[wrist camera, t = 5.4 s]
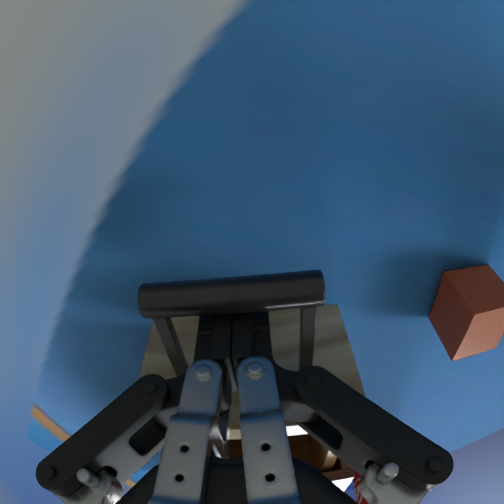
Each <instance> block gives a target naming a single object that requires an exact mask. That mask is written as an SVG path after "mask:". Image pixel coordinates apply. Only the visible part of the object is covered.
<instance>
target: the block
mask: <svg viewBox="0 0 504 504" xmlns="http://www.w3.org/2000/svg"><path fill="white" fill-rule="evenodd" d="M429 319H430V321H431V323H432V325H433V327H434V329H435V330H436V332H437V334H438V336H439V338H440V340H441V342H442V344H443V345H444V347H445V349H446V351H447V353H448V355H449V357H450V359H451V361H455V360H458V359H462V358H465V357H468V356H472V355H475V354H478V353H481V352H484V351H487V350H490V349H493V348H496V347H497V345H498V343H499V342H500V340H501V338H502V336H503V334H504V282H503V281H502V280H501V279H500V278H499V276H498V275H497V274H496V273H495V272H494V271H493V269H492V268H491V267H490V266H489V265H482V266H476V267H469V268H462V269H455V270H448V271H444V272H443V276H442V279H441V282H440V285H439V289H438V292H437V295H436V298H435V301H434V304H433V307H432V310H431V313H430V315H429Z"/></svg>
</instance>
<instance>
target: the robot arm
mask: <svg viewBox="0 0 504 504" xmlns="http://www.w3.org/2000/svg"><path fill="white" fill-rule="evenodd" d="M232 391H238V395H239V406H240V431H241V442H242V452H243V456H240V457H236V458H232V459H229V450H228V441H229V432H230V422H231V412H232V404H231V402H232ZM284 419H287V420H292V421H295V422H296V424H297V425H298V426H300V427H301V428H302V429H303V430H304V431H306V432H307V433H308V434H309V435H310V436H312V437H313V438H314V439H315V440H316V441H318V442H319V443H320V444H321V445H323V446H324V447H325V448H326V449H328V450H329V451H330V452H331V453H333V454H334V455H335V456H337V457H338V458H339V459H340V460H342V461H343V462H344V463H346V464H347V465H348V466H350V467H351V468H352V469H354V470H355V471H356V472H358V473H359V474H360V475H362V477H361V479H360V481H359V491H360V493H361V495H362V496H363V497H364V498H365V499H366V500H367V502H368V504H419V503H420V501H421V500H422V499H423V498H424V496H425V495H426V494H427V493H428V492H429V491H431V490H432V489H434V488H435V487H436V486H438V485H439V484H441V483H442V482H444V481H445V480H446V479H447V478H448V477H449V476H450V474H451V472H452V470H453V459H452V457H451V455H450V453H449V452H448V451H446V450H445V449H443V448H442V447H440V446H439V445H437V444H435V443H434V442H432V441H431V440H429V439H428V438H426V437H424V436H423V435H421V434H420V433H418V432H417V431H415V430H414V429H412V428H411V427H409V426H408V425H406V424H405V423H403V422H401V421H400V420H398V419H397V418H395V417H394V416H392V415H391V414H389V413H388V412H387V411H385V410H384V409H382V408H381V407H379V406H378V405H376V404H375V403H373V402H372V401H370V400H369V399H367V398H366V397H365V396H363V395H362V394H360V393H359V392H357V391H356V390H354V389H353V388H352V387H350V386H349V385H347V384H346V383H345V382H343V381H342V380H340V379H339V378H337V377H336V376H335V375H333V374H332V373H330V372H329V371H328V370H326V369H325V368H323V367H320V366H307V367H305V368H302V369H301V370H300V371H299V372H297V371H291V370H287V369H284V368H282V367H280V366H279V365H277V364H276V362H275V361H274V359H273V355H272V345H271V334H270V323H269V312H268V311H264V312H252V313H238V314H224V315H208V316H199V323H198V330H197V338H196V346H195V353H194V361H193V363H192V364H191V365H190V366H189V367H188V369H187V371H186V372H185V373H184V374H182V375H180V376H178V377H174V378H171V379H167V380H165V379H164V378H163V377H162V376H160V375H157V374H148V375H145V376H143V377H141V378H140V379H139V380H137V381H136V382H135V383H134V384H133V385H132V386H130V387H129V388H128V389H127V390H126V391H124V392H123V393H122V394H121V395H120V396H119V397H117V398H116V399H115V400H114V401H113V402H112V403H110V404H109V405H108V406H107V407H106V408H104V409H103V410H102V411H101V412H100V413H99V414H97V415H96V416H95V417H94V418H93V419H91V420H90V421H89V422H88V423H87V424H85V425H84V426H83V427H82V428H81V429H79V430H78V431H77V432H76V433H75V434H73V435H72V436H71V437H70V438H69V439H67V440H66V441H65V442H64V443H63V444H61V445H60V446H59V447H58V448H56V449H55V450H54V451H53V452H52V453H50V454H49V455H48V456H47V457H46V458H45V459H43V460H42V461H41V462H40V463H39V464H38V466H37V469H36V478H37V481H38V483H39V484H40V485H41V486H42V487H43V488H45V489H47V490H49V491H50V492H52V493H53V494H54V495H56V496H58V497H59V498H60V499H61V500H62V501H63V503H64V504H358V503H357V502H356V501H355V500H353V499H352V498H351V497H350V496H348V495H347V494H346V493H345V492H344V491H342V490H341V489H340V488H339V487H338V486H336V485H335V484H334V483H333V482H332V481H331V480H329V479H328V478H327V477H326V476H325V475H324V474H323V473H321V472H320V471H319V470H318V469H317V468H316V467H314V466H313V465H311V464H310V463H308V462H306V461H304V460H301V459H299V458H295V457H291V452H290V447H289V441H288V436H287V431H286V425H285V420H284ZM162 448H163V450H162V454H161V459H160V464H158V465H156V466H155V467H154V468H152V469H151V470H150V471H149V472H148V473H147V474H146V475H145V476H144V477H143V478H142V479H141V480H139V481H138V482H137V483H136V484H135V485H134V486H133V487H132V488H131V489H130V490H129V491H128V492H127V493H126V494H125V495H124V496H123V497H122V493H123V489H122V484H123V483H124V482H126V481H127V480H128V479H129V478H130V477H131V476H132V475H133V474H135V473H136V472H137V471H138V470H139V469H140V468H141V467H142V466H143V465H145V464H146V463H147V462H148V461H149V460H150V459H151V458H152V457H153V456H154V455H155V454H156V453H158V452H159V451H160V450H161V449H162Z"/></svg>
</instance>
